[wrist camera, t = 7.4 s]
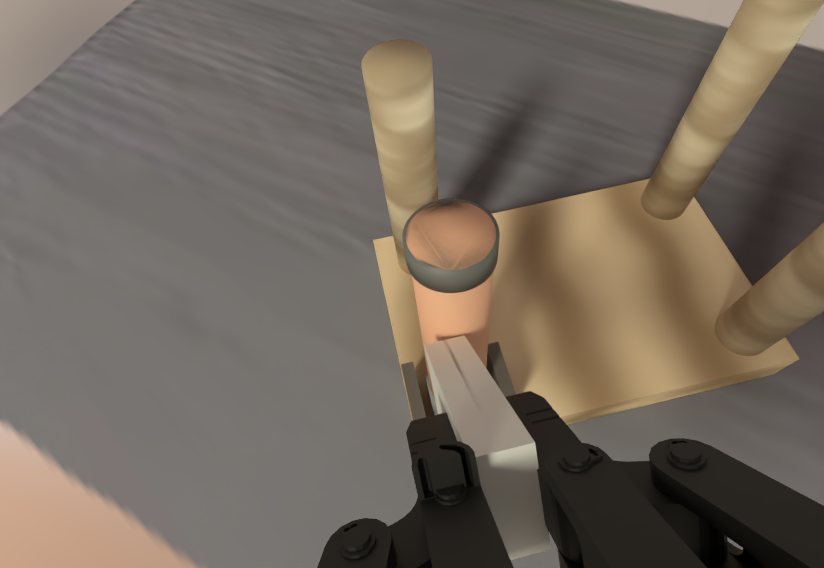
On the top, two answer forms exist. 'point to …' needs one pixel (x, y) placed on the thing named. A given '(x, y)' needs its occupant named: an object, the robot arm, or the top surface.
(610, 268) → the stool
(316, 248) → the top surface
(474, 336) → the folding leg
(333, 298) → the top surface
